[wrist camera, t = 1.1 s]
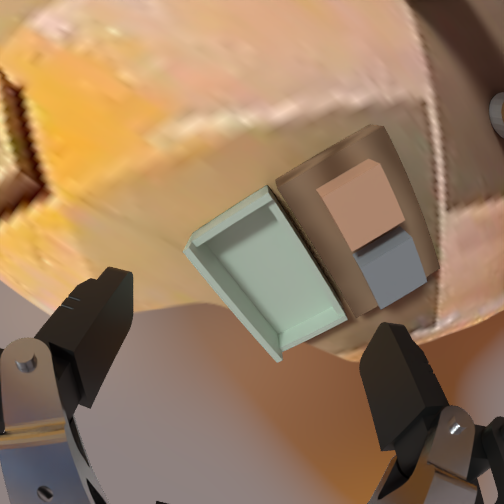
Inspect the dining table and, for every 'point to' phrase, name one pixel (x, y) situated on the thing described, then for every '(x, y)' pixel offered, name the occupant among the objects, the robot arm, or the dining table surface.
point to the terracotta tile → (361, 203)
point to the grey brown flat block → (322, 224)
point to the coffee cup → (497, 113)
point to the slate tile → (391, 266)
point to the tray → (265, 273)
